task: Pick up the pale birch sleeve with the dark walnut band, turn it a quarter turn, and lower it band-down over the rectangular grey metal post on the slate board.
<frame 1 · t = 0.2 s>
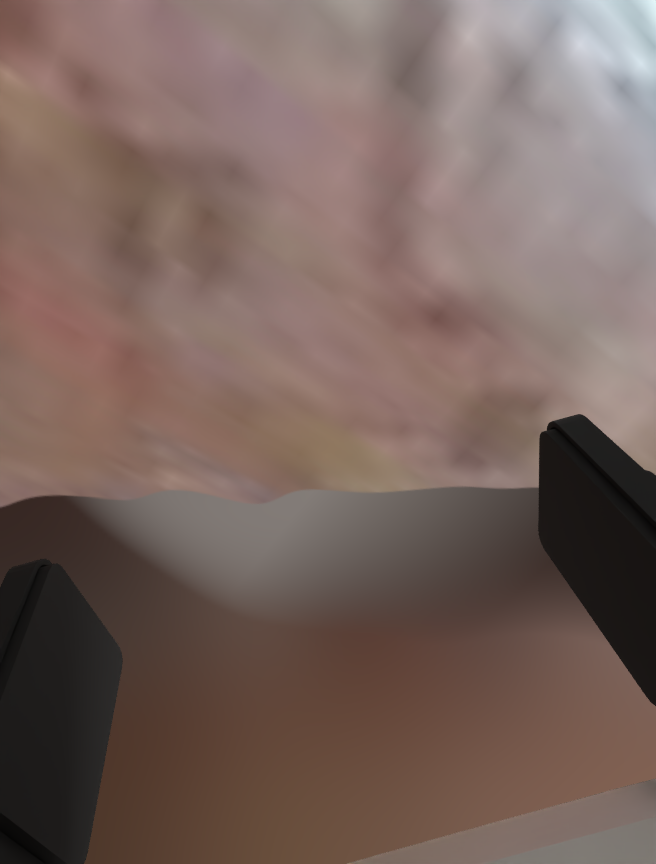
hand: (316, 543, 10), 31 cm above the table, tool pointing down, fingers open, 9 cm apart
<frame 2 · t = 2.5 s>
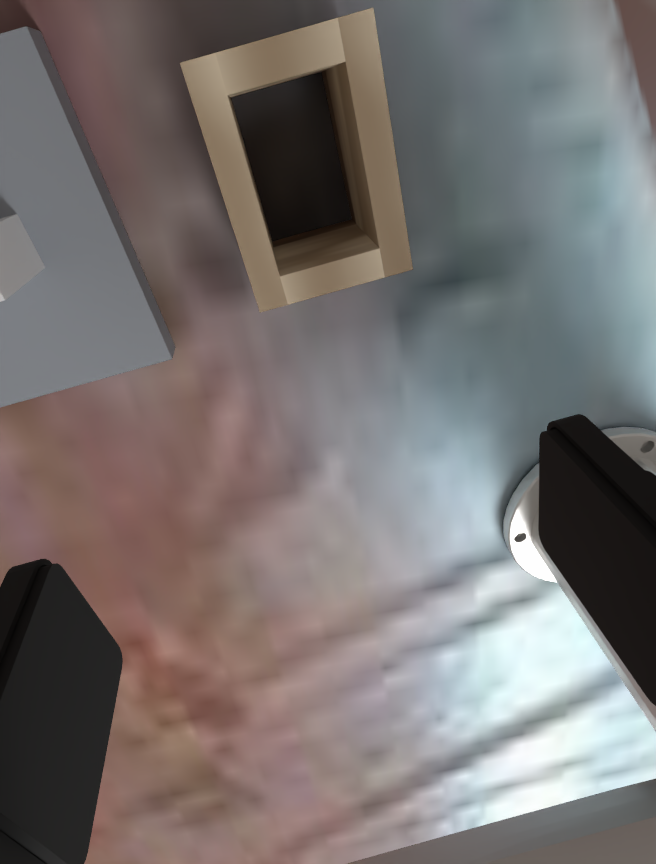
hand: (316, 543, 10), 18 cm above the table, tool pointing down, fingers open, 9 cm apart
sleeve: (295, 162, 23), on the table
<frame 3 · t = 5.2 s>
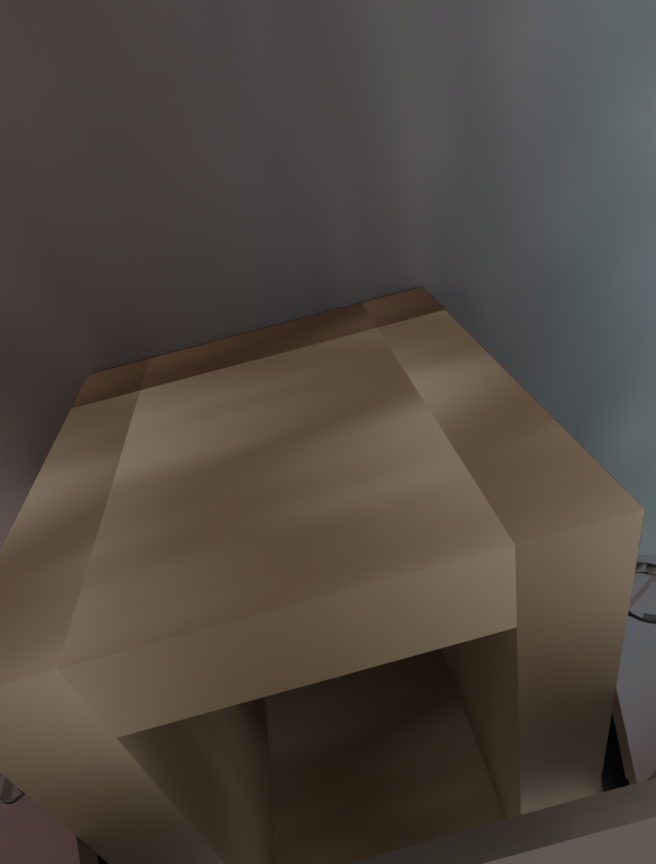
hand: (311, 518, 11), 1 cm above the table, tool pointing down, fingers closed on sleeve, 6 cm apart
sleeve: (308, 500, 12), on the table, touching gripper
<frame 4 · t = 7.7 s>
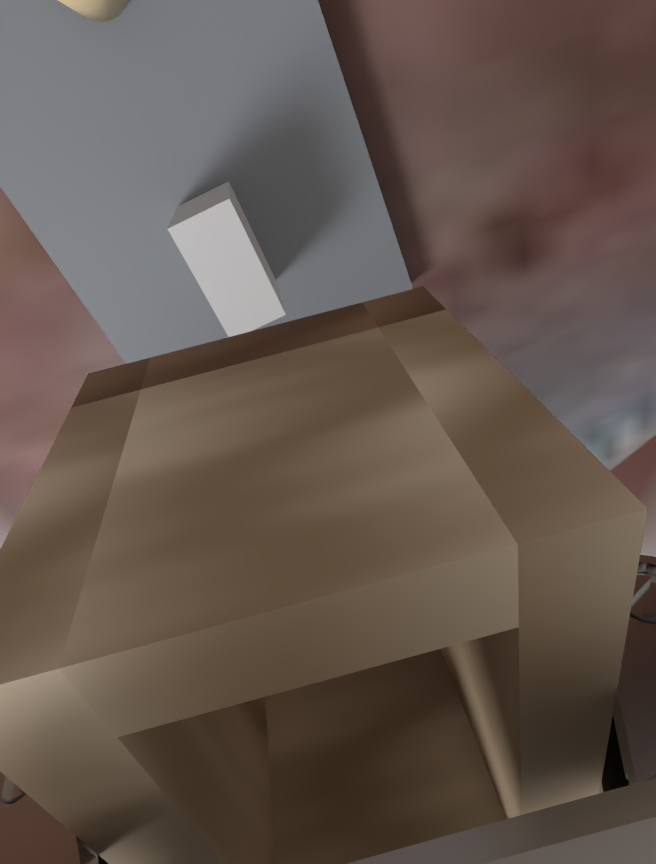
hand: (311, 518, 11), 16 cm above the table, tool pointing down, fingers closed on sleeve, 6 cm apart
pin board: (186, 153, 21), on the table
sleeve: (308, 500, 11), point 15 cm above the table, touching gripper
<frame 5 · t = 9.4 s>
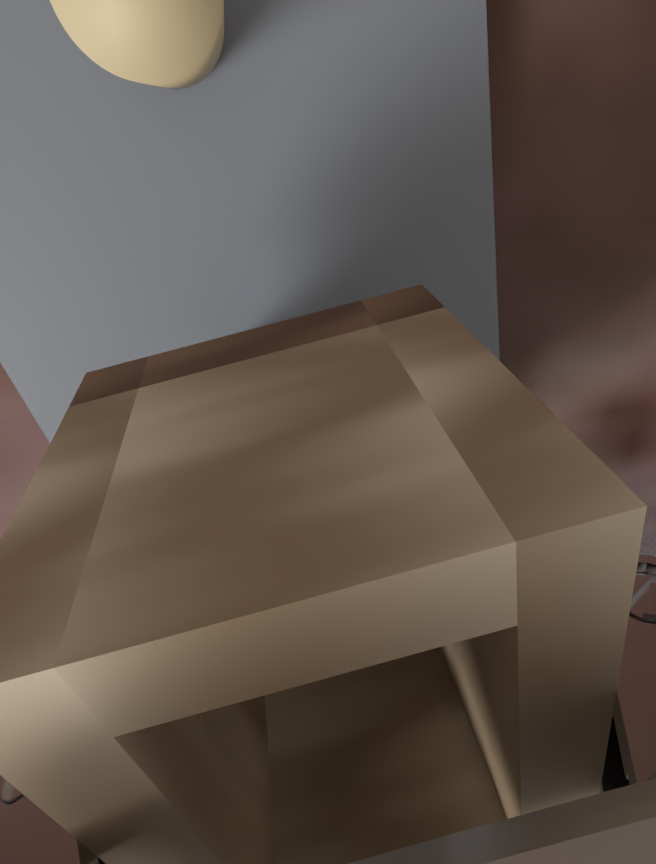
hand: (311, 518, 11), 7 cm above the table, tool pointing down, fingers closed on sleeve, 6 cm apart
pin board: (246, 273, 15), on the table
sleeve: (307, 499, 11), point 6 cm above the table, touching gripper
when the fingers open (3 cm above the table, at t = 10.6 s): sleeve stays where it is, resting on pin board.
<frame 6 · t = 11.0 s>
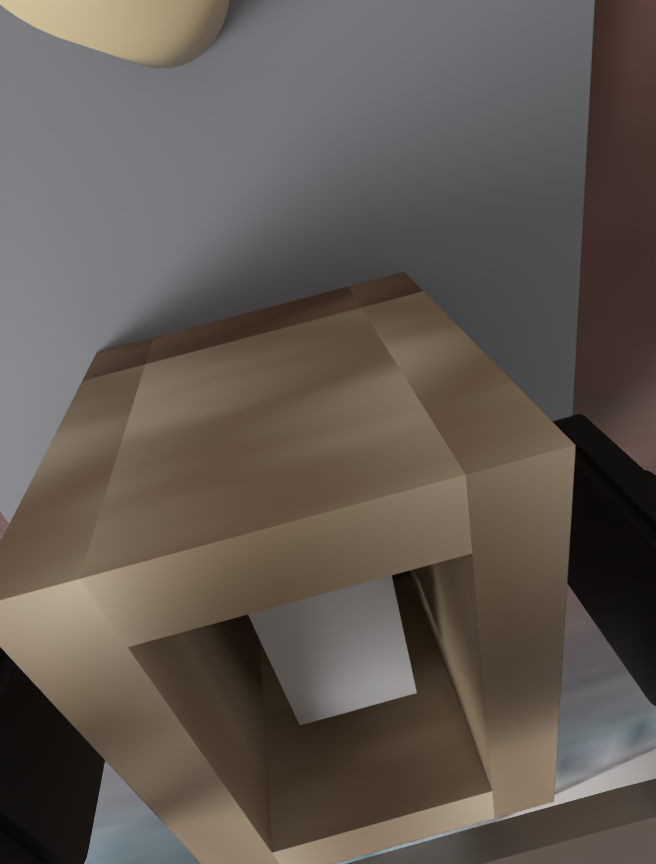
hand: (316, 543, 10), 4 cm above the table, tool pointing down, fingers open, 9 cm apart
pin board: (256, 309, 12), on the table
sleeve: (300, 474, 12), point 1 cm above the table, touching pin board
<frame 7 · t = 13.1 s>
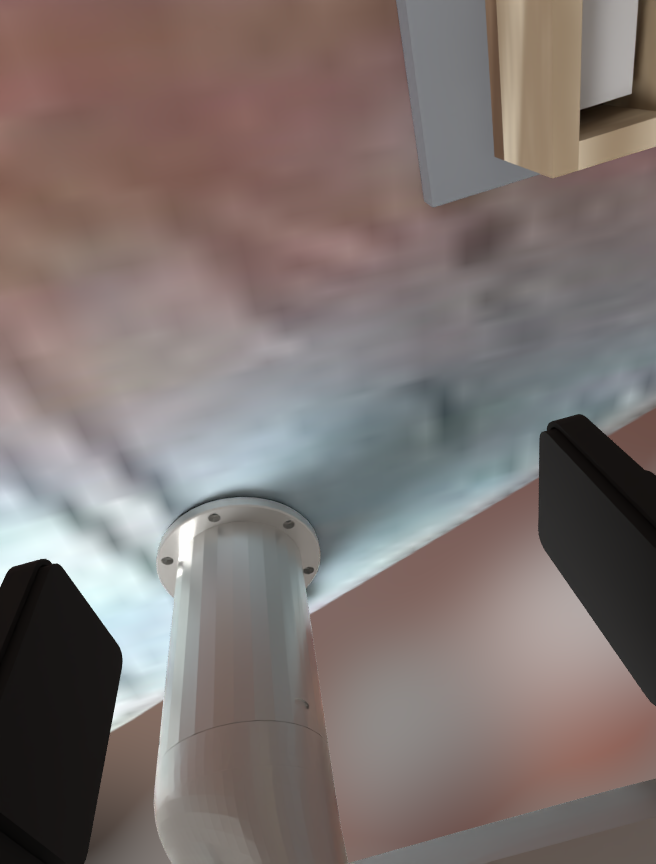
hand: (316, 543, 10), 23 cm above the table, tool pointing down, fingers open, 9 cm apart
sleeve: (551, 44, 25), point 1 cm above the table, touching pin board
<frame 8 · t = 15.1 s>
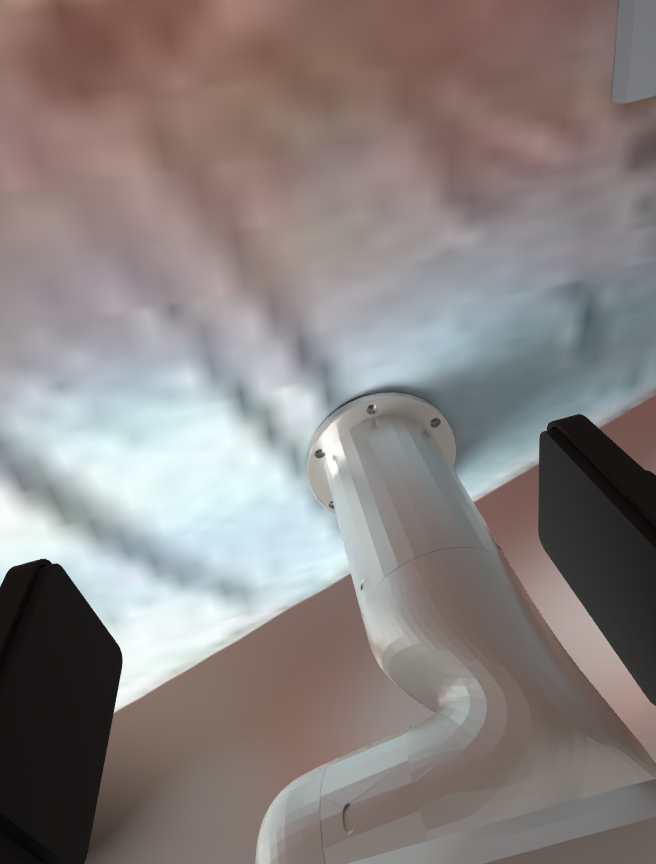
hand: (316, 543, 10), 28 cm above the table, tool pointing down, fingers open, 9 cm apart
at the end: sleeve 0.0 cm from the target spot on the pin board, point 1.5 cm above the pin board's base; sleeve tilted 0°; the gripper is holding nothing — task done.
